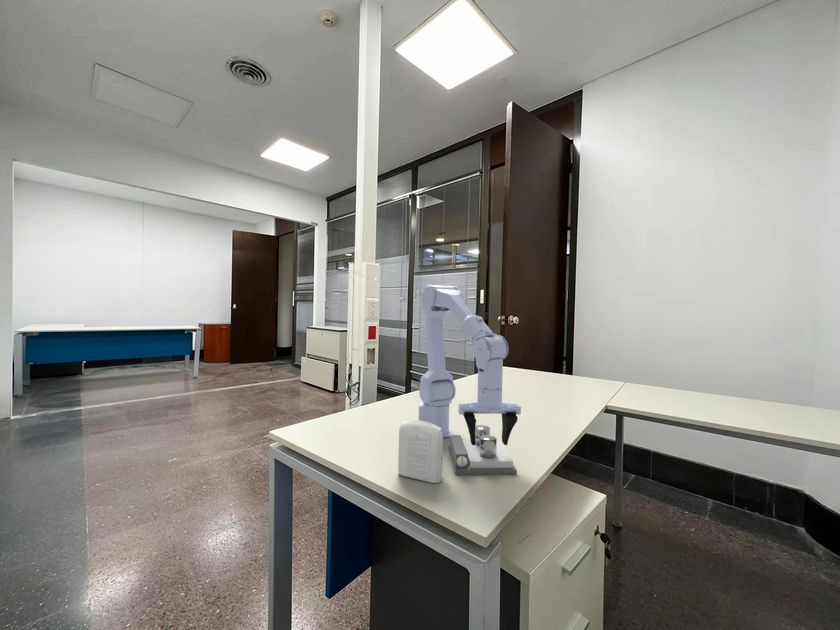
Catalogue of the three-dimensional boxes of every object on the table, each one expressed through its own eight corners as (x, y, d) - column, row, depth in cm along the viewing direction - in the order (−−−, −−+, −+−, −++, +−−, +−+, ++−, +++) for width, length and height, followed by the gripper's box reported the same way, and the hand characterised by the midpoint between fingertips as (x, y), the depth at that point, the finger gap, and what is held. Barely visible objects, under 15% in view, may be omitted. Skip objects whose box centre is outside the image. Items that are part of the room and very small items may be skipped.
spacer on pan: (475, 446, 83) (476, 430, 83) (472, 439, 87) (472, 425, 87) (491, 446, 83) (491, 430, 83) (487, 439, 87) (487, 425, 87)
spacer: (480, 458, 77) (480, 441, 77) (478, 450, 81) (478, 434, 81) (497, 459, 76) (497, 442, 76) (495, 451, 80) (495, 435, 80)
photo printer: (445, 476, 73) (445, 421, 73) (439, 486, 69) (439, 428, 69) (403, 467, 77) (403, 415, 77) (395, 476, 73) (395, 421, 73)
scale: (455, 474, 74) (455, 456, 74) (448, 449, 87) (448, 433, 87) (516, 474, 74) (516, 456, 74) (500, 448, 87) (500, 433, 87)
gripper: (462, 391, 73) (461, 451, 74) (526, 391, 74) (524, 450, 74) (457, 383, 80) (456, 438, 81) (515, 383, 81) (514, 438, 81)
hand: (488, 443), depth 78 cm, fingers open, 7 cm apart
